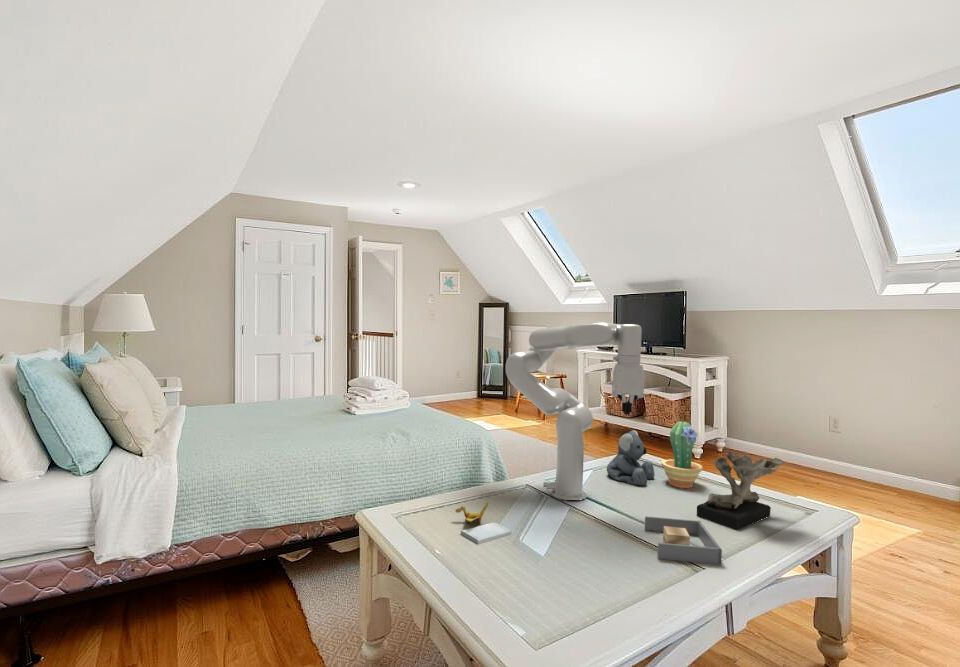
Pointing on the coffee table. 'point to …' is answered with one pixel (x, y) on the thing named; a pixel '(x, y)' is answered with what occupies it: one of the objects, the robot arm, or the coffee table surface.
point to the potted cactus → (682, 457)
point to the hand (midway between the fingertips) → (626, 414)
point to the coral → (738, 493)
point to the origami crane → (472, 514)
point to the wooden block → (676, 535)
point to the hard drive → (486, 532)
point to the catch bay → (686, 552)
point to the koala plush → (630, 461)
